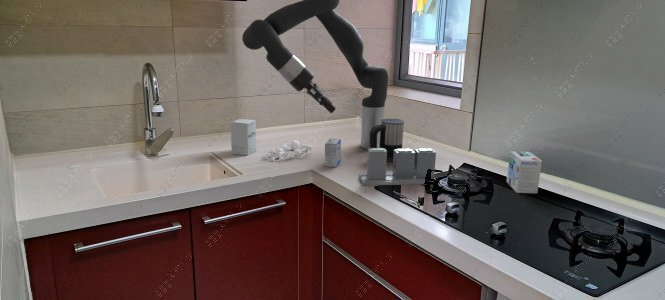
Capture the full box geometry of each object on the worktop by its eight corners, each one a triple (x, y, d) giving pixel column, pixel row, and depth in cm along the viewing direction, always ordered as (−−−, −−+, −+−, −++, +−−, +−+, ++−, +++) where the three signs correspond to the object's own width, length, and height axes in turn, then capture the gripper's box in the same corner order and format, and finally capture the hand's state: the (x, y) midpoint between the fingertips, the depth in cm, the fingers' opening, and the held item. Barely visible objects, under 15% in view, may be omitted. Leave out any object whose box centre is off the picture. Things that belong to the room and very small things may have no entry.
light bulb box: (505, 181, 159) (509, 150, 156) (526, 182, 159) (530, 151, 156) (516, 193, 149) (520, 160, 146) (538, 193, 149) (543, 160, 146)
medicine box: (336, 167, 171) (337, 144, 168) (324, 166, 172) (324, 143, 169) (340, 161, 178) (341, 138, 176) (329, 160, 179) (329, 138, 177)
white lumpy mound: (281, 168, 173) (282, 158, 171) (256, 157, 181) (256, 147, 180) (318, 156, 186) (319, 146, 185) (293, 146, 195) (293, 137, 194)
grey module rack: (358, 177, 160) (360, 147, 158) (428, 176, 163) (430, 146, 160) (363, 185, 153) (364, 153, 150) (435, 184, 156) (438, 152, 153)
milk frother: (388, 153, 189) (390, 117, 185) (421, 162, 179) (424, 123, 175) (364, 160, 180) (366, 122, 176) (398, 170, 169) (400, 129, 165)
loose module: (367, 176, 158) (368, 147, 155) (383, 175, 159) (384, 147, 156) (368, 179, 155) (370, 150, 152) (385, 179, 155) (387, 150, 153)
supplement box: (248, 155, 183) (247, 123, 179) (231, 153, 185) (229, 121, 182) (257, 151, 189) (256, 119, 186) (240, 149, 192) (239, 118, 188)
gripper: (306, 67, 142) (343, 104, 147) (302, 62, 156) (337, 96, 160) (288, 85, 143) (326, 121, 148) (286, 78, 157) (321, 112, 161)
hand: (332, 108), depth 154 cm, fingers open, 8 cm apart
